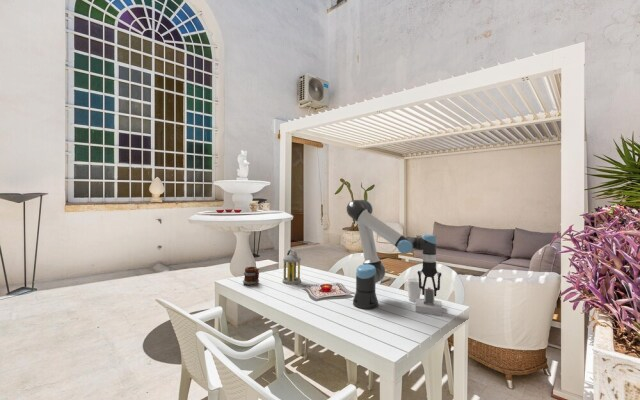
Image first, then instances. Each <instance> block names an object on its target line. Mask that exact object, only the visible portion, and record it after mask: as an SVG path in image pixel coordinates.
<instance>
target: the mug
mask: <svg viewBox="0 0 640 400" xmlns="http://www.w3.org/2000/svg"><path fill="white" fill-rule="evenodd" d="M259 270H260V269H259V268H257V266H246V267H245V268H244V271H243V277H244V278H243V280H242V283H243V285H244V286H248V287H251V286H257V285H258V284H259V282H260V280H259V277H260V272H259Z"/></svg>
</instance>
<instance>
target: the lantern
mask: <svg viewBox="0 0 640 400" xmlns="http://www.w3.org/2000/svg"><path fill="white" fill-rule="evenodd" d="M291 251H292V252H293V254H290V253H291ZM282 262H283V279H282V280H281V281H282V284H284V285H298V284H299V285H300V284H301V282H302V280H301V277H300V276H301V257H300V256H299V255H297V251H296V250H295V249H293V248H291V249H289V250H288V251H287V253H286V255H285V256H284V257H283V260H282Z"/></svg>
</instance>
